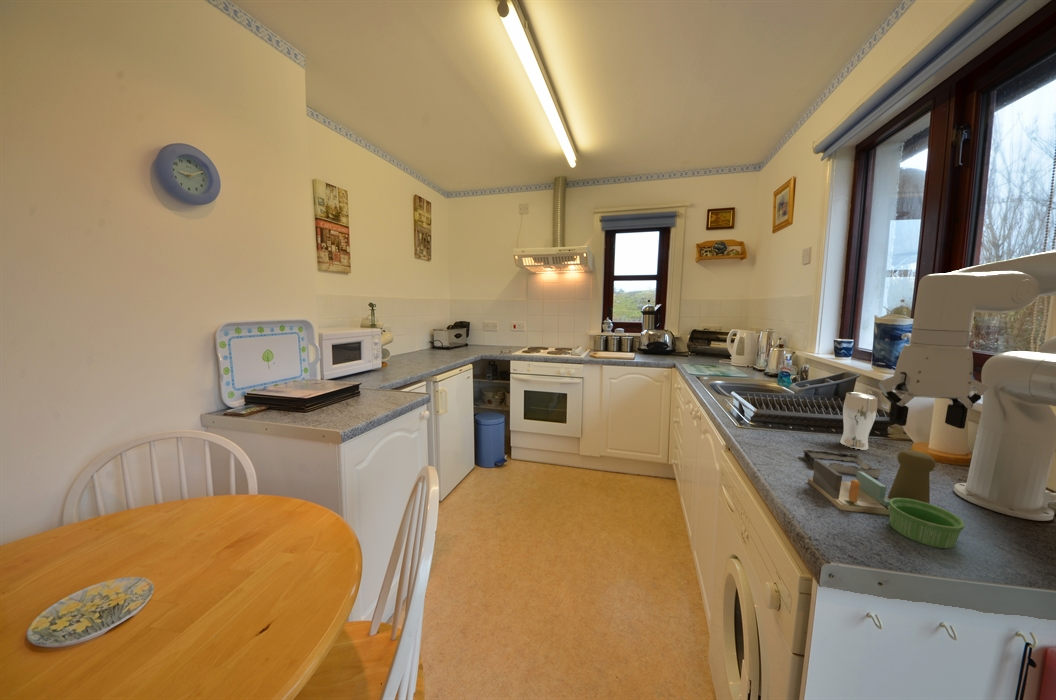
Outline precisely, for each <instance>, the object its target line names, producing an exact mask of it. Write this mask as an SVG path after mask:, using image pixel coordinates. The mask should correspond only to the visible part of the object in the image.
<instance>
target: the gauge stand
mask: <svg viewBox="0 0 1056 700" xmlns="http://www.w3.org/2000/svg"><path fill="white" fill-rule="evenodd" d="M813 468H814V469H813V476H812V478H811V477H808V478H807V482H808V484H809V485H811V486H812V487H813V488H814V489H815V490H816V491H817V492H819V493H820V494H822V496H823V497H825V498H826V499H827V500H828V501H830V502H831V503H832V504H833V505H834V506H835V507H837V509H839V510H840V511H848V512H849V511H850V512H858V513H867V514H878V515H887V516H890V506H885V505H884V504H882V503H881V502H879V501H877V500H876V499H874V498H873V497H871V496H870V495H869V494H867V493H866V492H864V491H863V490H861V489H860V488H859V492H858V498H857V503H853V502H852V501H850V500H849V499H848V498H849V491H850V485H851V481H845V480H844V481H843V475H842V474H841V473H840V472H836V471H835V470H834V469H832V468H831V467H829V466H828V464H826V463H825V462H823V461H822V460H821V459H815V467H813ZM885 498H886V499H888V500H889V501H890V499H889V498H888V496H886V495H885Z"/></svg>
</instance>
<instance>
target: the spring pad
mask: <svg viewBox="0 0 1056 700" xmlns="http://www.w3.org/2000/svg"><path fill="white" fill-rule="evenodd" d="M855 480H857V481H859V482H860V486H859V488H860V489H861V490H863V491H864V492H866V493H867V494H869V495H870V496H871V497H873V498H874V499H876V500H877V501H879V502H881V503H882V504H884V505H885V506H890V505H889V500H888V499H886V498H885V496H886V493H887V488H888V486H886V485H885V484H883V483H881V482H880V481H878V480H877V479H876V478H874V477H870V476H869V475H867V474H866V473H864V472H860V471H857V475H856V478H855Z"/></svg>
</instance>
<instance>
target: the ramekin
mask: <svg viewBox="0 0 1056 700" xmlns="http://www.w3.org/2000/svg"><path fill="white" fill-rule="evenodd" d="M889 505H890V515H889V518H888V519H889V521H888V522H889V525H890V527H892V529H893V530H894V531H896V532H897V533H898V534H900V535H902V536H904V537H906V538H907V539H910V540H912V541H914V542H917V543H919V544H923V545H926V546H928V547H933V548H939V549H952V548H954V547H955V546H956V544H957V543H958V539H959V536H960V534H961V532H962V531H963V530H964V529H965V522H964V521H963V519H962V518H960V517H959V516H958V515H956V514H954V513H952V512H950V511H949V510H946V509H944V508H942V507H939V506H937V505H935V504H931V503H930V504H929V503H925V502H922V501H918V500H913V499H908V498H893V499H891V500H890V501H889Z"/></svg>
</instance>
